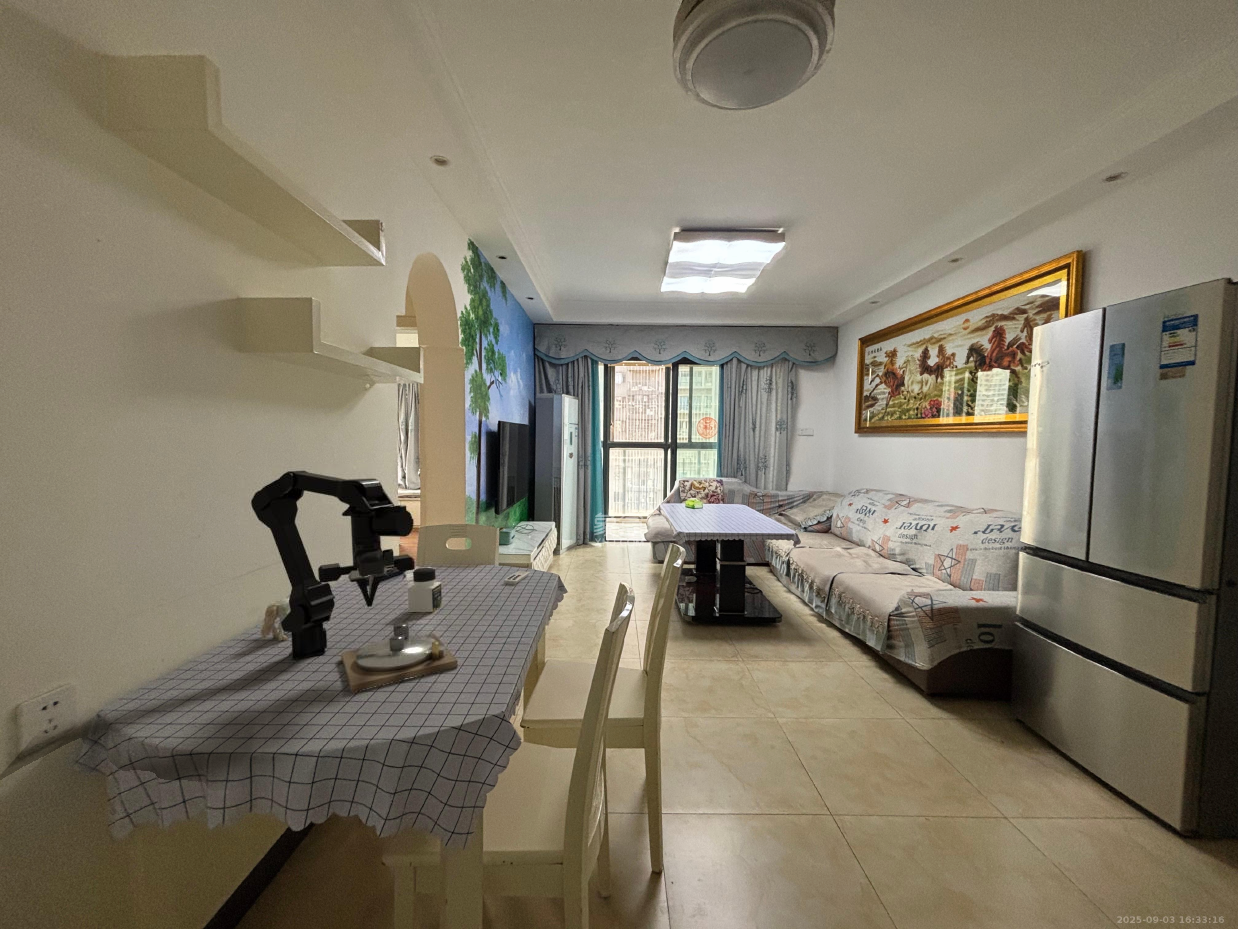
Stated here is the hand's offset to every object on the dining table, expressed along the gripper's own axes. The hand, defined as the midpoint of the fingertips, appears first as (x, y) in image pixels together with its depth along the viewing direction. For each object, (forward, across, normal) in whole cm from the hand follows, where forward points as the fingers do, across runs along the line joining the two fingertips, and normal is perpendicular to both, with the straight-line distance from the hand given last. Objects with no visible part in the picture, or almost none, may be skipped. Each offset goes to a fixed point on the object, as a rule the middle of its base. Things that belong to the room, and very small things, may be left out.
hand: (369, 606), depth 116 cm
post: (+9, +4, -6) cm, 11 cm away
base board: (+12, +4, -6) cm, 14 cm away
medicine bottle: (+12, +18, +31) cm, 38 cm away
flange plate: (+10, +5, -7) cm, 13 cm away
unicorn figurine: (+12, -17, +33) cm, 39 cm away
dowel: (+10, +11, -13) cm, 20 cm away
